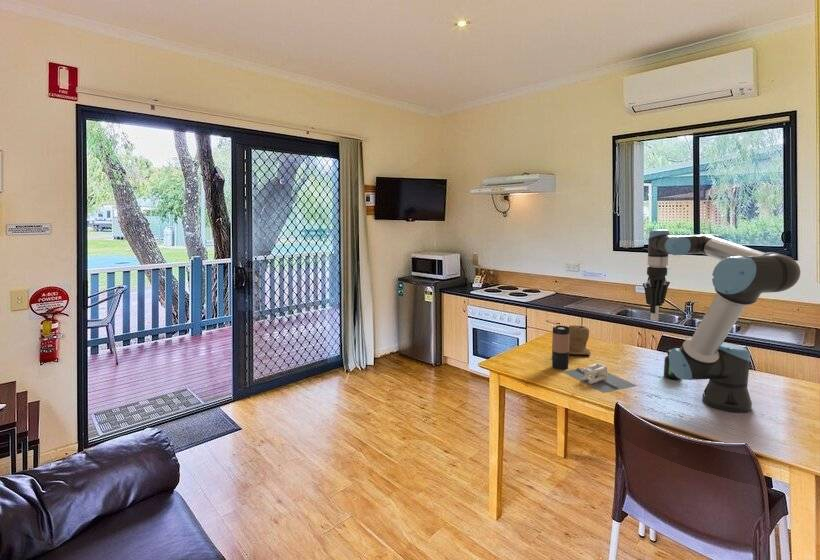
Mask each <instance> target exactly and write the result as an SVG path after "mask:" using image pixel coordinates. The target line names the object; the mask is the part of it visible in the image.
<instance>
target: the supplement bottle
mask: <svg viewBox="0 0 820 560" xmlns="http://www.w3.org/2000/svg"><path fill="white" fill-rule="evenodd" d="M671 350H672V349H668V350H667V353H666V356H665V357H664V360H663V361H664V364H663V377H664V378H666V379H668V380H672V381H680V380H681V379H679V378H678V377H677V376H676V375H675V374H674V373H673V371H672V369H671V367H670V363H669V353H670V351H671Z"/></svg>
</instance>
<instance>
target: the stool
mask: <svg viewBox="0 0 820 560" xmlns="http://www.w3.org/2000/svg"><path fill="white" fill-rule="evenodd" d="M593 368H596V369H594V370H591V369H593ZM581 371H582V372H584V373H585V377H582V380H583V381H585V380H589V384H593V383H596V382H599V381H601V380H604V379H606V380H607V379H608V374H607V373H608V366H607V365H604V364H602V363H599V362H597V361H596V362H595V363H594V364H593V363H592V364H590V365H588V366H585V367H581ZM596 376H600V377H598V378H595V377H596Z"/></svg>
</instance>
